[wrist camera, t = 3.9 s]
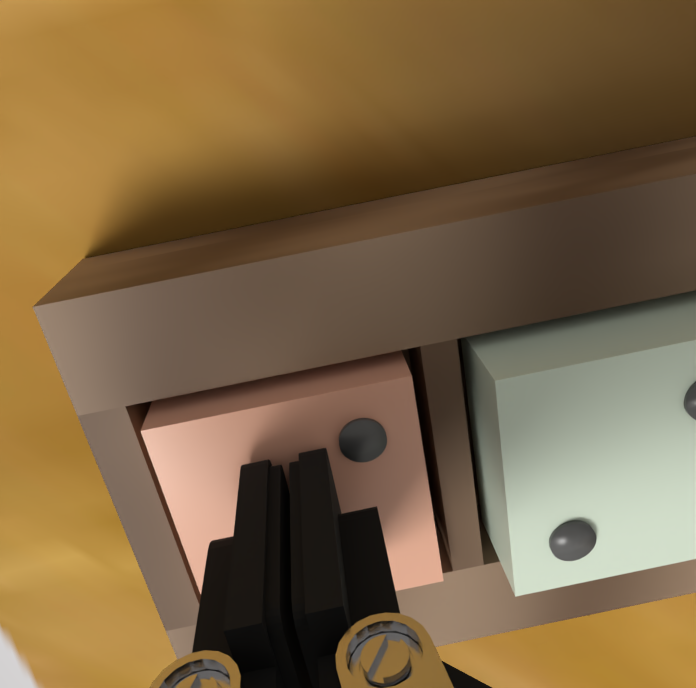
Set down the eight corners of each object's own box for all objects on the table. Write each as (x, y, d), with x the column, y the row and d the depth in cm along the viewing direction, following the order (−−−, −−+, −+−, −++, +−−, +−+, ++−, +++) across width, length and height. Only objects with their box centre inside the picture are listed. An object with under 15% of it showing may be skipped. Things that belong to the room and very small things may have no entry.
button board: (984, 78, 14) (1157, 81, 11) (903, 455, 18) (1014, 525, 15) (83, 259, 14) (33, 306, 11) (207, 600, 18) (193, 697, 15)
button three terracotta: (391, 326, 14) (413, 378, 11) (421, 509, 16) (444, 585, 13) (163, 372, 14) (139, 434, 11) (223, 550, 16) (212, 633, 13)
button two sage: (697, 279, 13) (785, 325, 11) (687, 476, 15) (759, 550, 13) (459, 328, 13) (496, 384, 11) (481, 519, 15) (517, 601, 13)
